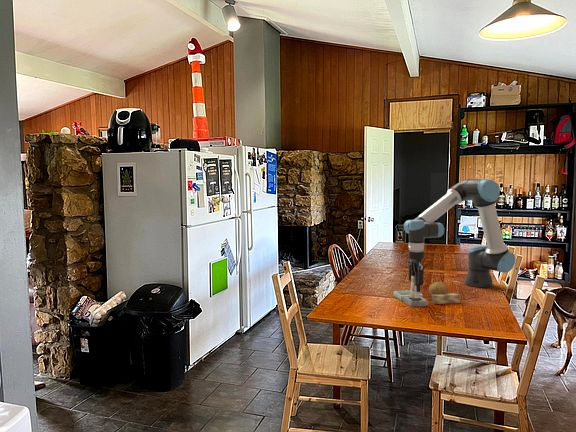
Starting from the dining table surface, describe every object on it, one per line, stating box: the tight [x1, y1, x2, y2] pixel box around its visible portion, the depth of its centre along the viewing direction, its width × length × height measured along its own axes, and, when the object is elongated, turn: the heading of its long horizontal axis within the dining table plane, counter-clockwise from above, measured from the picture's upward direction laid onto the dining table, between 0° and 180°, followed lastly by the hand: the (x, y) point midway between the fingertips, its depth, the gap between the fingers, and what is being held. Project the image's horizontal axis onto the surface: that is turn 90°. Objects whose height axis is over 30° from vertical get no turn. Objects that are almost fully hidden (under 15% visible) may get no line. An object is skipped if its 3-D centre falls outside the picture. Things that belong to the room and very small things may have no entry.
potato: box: [428, 281, 449, 297], centre depth 238 cm, size 10×14×8 cm
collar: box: [402, 296, 429, 307], centre depth 229 cm, size 9×9×2 cm
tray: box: [393, 289, 424, 302], centre depth 240 cm, size 12×10×2 cm
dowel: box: [410, 275, 419, 301], centre depth 229 cm, size 4×4×14 cm
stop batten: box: [431, 292, 461, 305], centre depth 231 cm, size 14×3×4 cm, turn 99°
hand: (415, 296), depth 229 cm, fingers closed on dowel, 4 cm apart
